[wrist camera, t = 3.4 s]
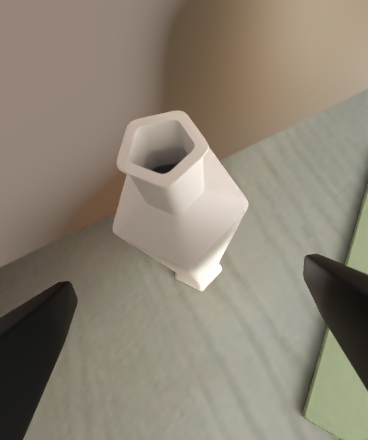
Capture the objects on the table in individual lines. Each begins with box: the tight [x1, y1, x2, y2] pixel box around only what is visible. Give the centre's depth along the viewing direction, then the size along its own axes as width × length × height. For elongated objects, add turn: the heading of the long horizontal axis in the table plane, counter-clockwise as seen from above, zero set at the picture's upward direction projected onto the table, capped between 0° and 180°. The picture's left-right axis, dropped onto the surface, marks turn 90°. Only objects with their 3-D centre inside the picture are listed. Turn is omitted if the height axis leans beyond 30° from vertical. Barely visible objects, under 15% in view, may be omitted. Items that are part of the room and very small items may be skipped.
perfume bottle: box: [112, 111, 248, 291], centre depth 12 cm, size 5×4×15 cm
